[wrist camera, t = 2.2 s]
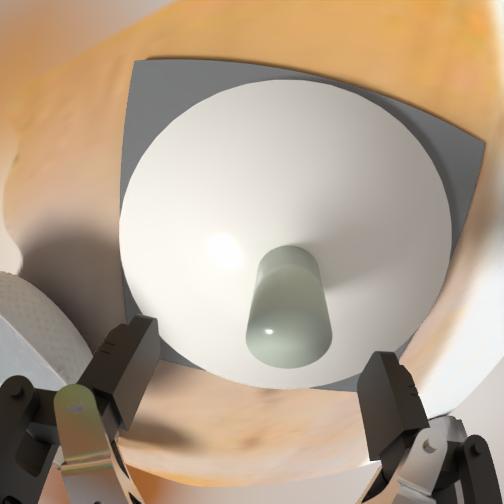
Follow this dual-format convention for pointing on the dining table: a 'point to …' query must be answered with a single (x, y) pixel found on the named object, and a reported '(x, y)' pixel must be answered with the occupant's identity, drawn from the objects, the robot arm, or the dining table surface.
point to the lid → (285, 233)
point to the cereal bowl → (38, 337)
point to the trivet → (236, 74)
